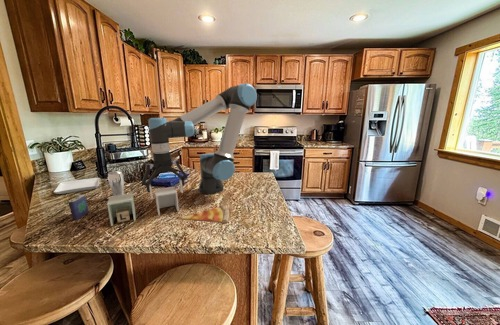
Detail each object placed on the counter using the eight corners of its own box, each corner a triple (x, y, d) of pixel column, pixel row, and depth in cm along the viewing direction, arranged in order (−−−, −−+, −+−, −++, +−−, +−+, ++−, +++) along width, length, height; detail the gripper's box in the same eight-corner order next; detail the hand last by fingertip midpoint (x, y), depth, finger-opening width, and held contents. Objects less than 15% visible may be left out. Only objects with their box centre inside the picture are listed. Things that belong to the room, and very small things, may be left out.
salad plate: (99, 189, 129) (98, 184, 128) (54, 197, 117) (52, 191, 116) (100, 181, 146) (99, 176, 145) (61, 187, 134) (60, 182, 133)
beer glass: (119, 201, 110) (114, 174, 107) (108, 200, 111) (103, 174, 108) (129, 196, 117) (125, 171, 113) (118, 195, 118) (114, 170, 115)
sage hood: (113, 217, 92) (109, 196, 90) (135, 212, 96) (132, 193, 94) (111, 226, 84) (107, 204, 82) (135, 220, 89) (132, 199, 87)
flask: (84, 211, 98) (80, 190, 96) (91, 211, 98) (87, 190, 96) (70, 221, 89) (65, 198, 87) (78, 220, 89) (73, 198, 87)
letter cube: (118, 218, 91) (117, 209, 90) (130, 215, 93) (128, 207, 92) (117, 222, 87) (116, 213, 86) (129, 220, 90) (128, 210, 89)
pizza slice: (195, 205, 105) (194, 201, 105) (236, 208, 101) (236, 204, 101) (179, 219, 90) (179, 215, 90) (227, 223, 86) (227, 219, 86)
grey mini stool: (156, 208, 101) (154, 189, 98) (175, 204, 105) (173, 186, 103) (158, 215, 93) (156, 195, 91) (178, 211, 97) (177, 191, 95)
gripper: (130, 156, 84) (138, 203, 89) (190, 150, 95) (195, 192, 100) (130, 154, 90) (138, 198, 95) (187, 148, 102) (191, 187, 107)
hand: (167, 195), depth 98 cm, fingers open, 13 cm apart
